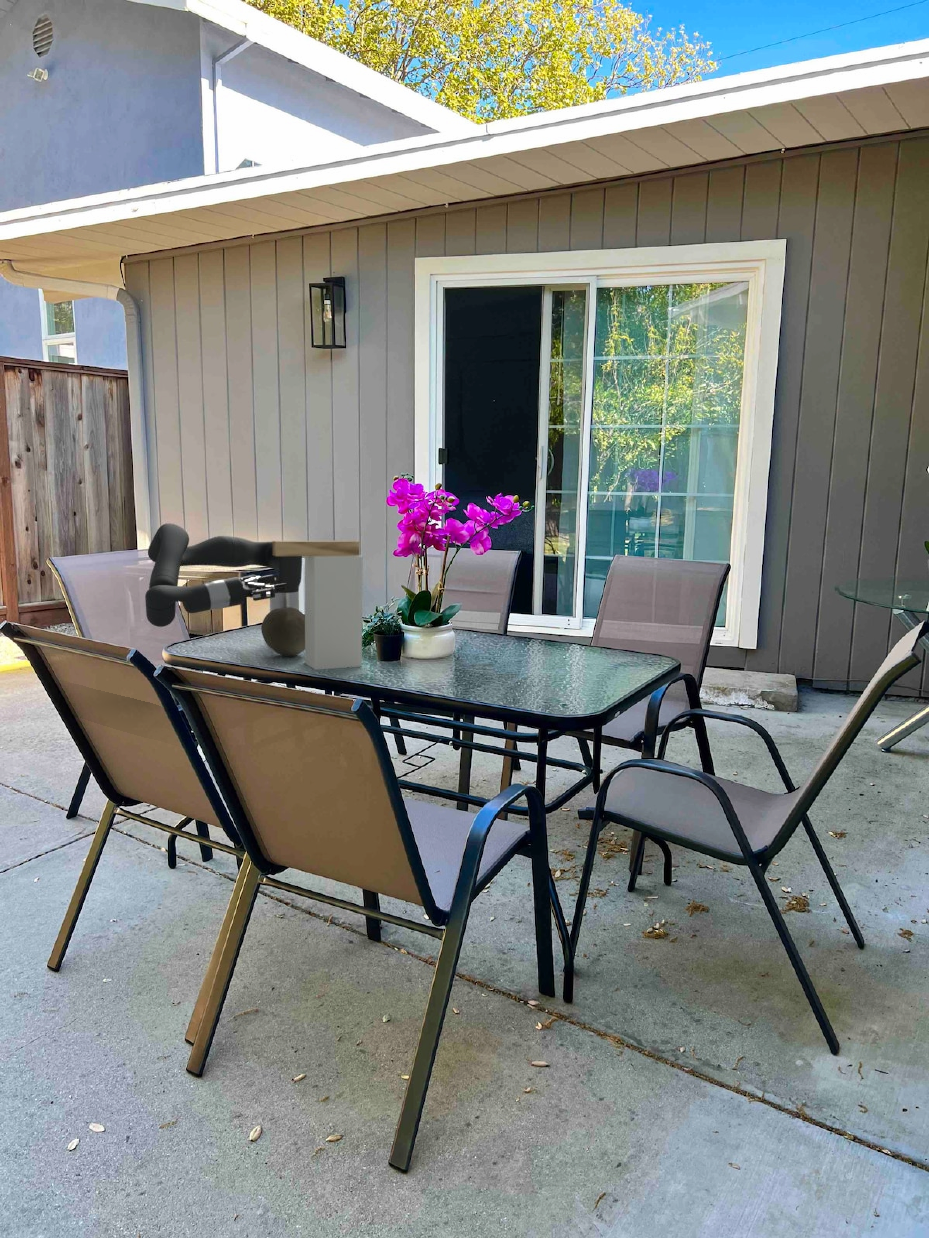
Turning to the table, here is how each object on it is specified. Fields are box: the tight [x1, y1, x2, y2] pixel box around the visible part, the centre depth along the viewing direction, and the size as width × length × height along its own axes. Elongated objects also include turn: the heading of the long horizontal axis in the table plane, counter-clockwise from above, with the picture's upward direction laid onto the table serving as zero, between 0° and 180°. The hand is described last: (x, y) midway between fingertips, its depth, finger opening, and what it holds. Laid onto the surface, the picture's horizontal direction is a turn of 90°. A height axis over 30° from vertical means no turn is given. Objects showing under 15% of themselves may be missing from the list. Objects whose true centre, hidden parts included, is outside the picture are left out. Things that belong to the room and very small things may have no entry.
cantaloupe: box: [260, 607, 305, 657], centre depth 265 cm, size 14×14×15 cm
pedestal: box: [304, 554, 364, 671], centre depth 253 cm, size 10×14×32 cm
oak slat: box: [272, 539, 360, 557], centre depth 248 cm, size 4×24×4 cm, turn 116°
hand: (280, 582), depth 240 cm, fingers open, 8 cm apart
